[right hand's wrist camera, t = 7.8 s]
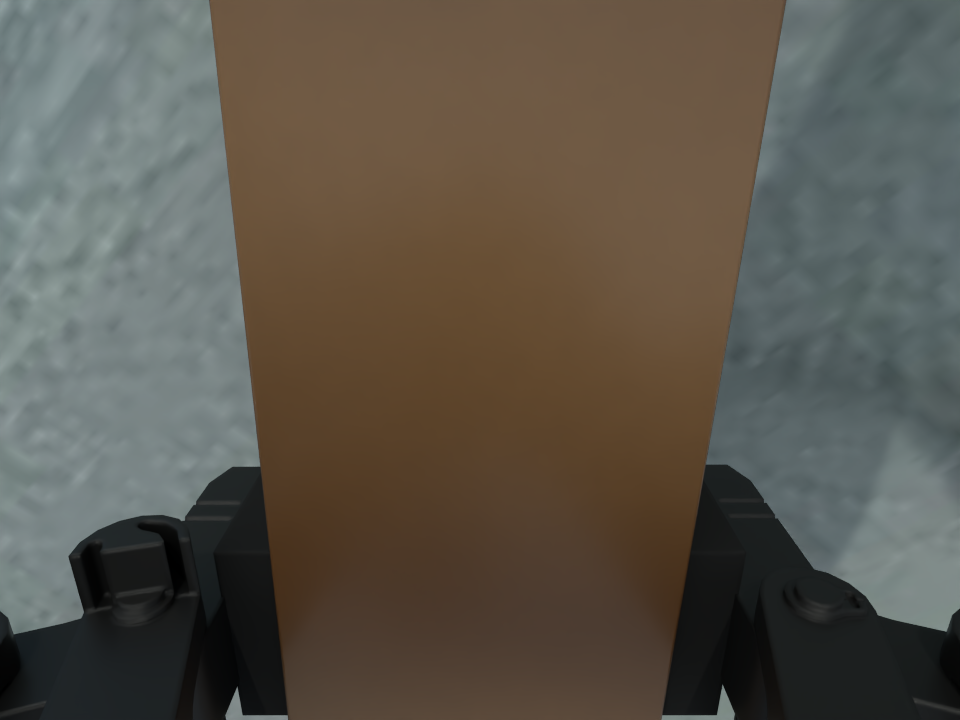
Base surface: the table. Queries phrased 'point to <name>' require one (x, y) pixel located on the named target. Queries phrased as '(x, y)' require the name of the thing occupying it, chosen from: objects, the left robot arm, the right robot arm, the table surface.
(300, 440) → the post
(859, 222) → the table surface
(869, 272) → the table surface
